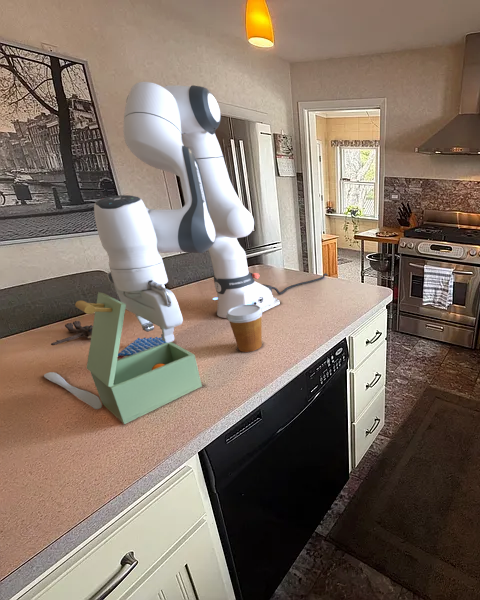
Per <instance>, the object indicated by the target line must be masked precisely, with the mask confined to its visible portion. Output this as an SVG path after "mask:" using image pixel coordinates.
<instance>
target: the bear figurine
mask: <svg viewBox="0 0 480 600" xmlns="http://www.w3.org/2000/svg"><path fill="white" fill-rule="evenodd" d="M64 327H65V328H66V329H67V331H68V333H69V332H70V333H75V334H73V335H70V336H68V337H65V338H62V339H56V340H55V341H53V342H51V343H50V345H51V346H56V345H60V344H63V343H67V342H70V341H72V340H75V339H79V338H81V337H86V339H91V336H92V329H93V324H90V325H84V326H82V325H81V321H80V320H75V321H73V322H68V323H65V325H64Z"/></svg>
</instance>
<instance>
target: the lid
mask: <svg viewBox="0 0 480 600" xmlns="http://www.w3.org/2000/svg"><path fill="white" fill-rule="evenodd" d="M74 306H75V307H76V308H77V309H79V310H80V311H81V312H83V313H85V314H87V315H92V314H94V315H93V316H94V318H93V323H92V326H93V329H92V336H91V338H90V343H89V349H88V355H87V364H86V369H87V370H88V371H89V372H90V374H91V373H93V374H94V375H95V376H96V377H97V378H98V379H100V380H101V381H102V382H103V383H104V384H105V385H106V386H108V387H111V386H113V383H114V377H115V370H116V364H117V360H118V359H117V358H118V357H119V356H118V353H120V345H121V338H122V332H123V326H124V319H125V314H126V309H125V308H126V304H124V303H122V302H121V301H120V300H118V299H116V298H115V297H112V296H110V295H108V294H107V293H104V292H97V297H96V303H95V302H87V301H85V300H81V299H80V300H77V301H76V302H75V304H74Z"/></svg>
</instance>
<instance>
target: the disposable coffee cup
mask: <svg viewBox="0 0 480 600" xmlns="http://www.w3.org/2000/svg"><path fill="white" fill-rule="evenodd" d="M263 313H264V312H263V311H262V310H261V308H260V306H258V305H254V304H245V305H239V306H236V307H233V308H231V309H229V310H228V312H227V316H226V318H225V319H227V321H228V322H229V325H230V328H231V331H232V334H233V336H234V339H235V342H236V345H237V348H238V350H239V352H243V353H250V352H254V351H256V350H259V349H260V348H262V345H263V342H262V340H263V337H262V336H263V334H262V332H263V329H262V327H263V326H262V316H263Z"/></svg>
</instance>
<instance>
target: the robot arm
mask: <svg viewBox="0 0 480 600" xmlns="http://www.w3.org/2000/svg"><path fill="white" fill-rule="evenodd" d="M125 102H126V103H125V107H124V114H123V127H122V128H123V130H122V131H123V138H124V143H125V145H126V147H127V148H128V150H129V151H130V153H132V154H133V155H134V156H135V157H136V158H137V159H138V160H140V161H141V162H143V163H145V164H146V165H148V166H150V167H153V168H155V169H158V170H161V171H164V172H167V173H170V174H173V175H175V176H177V177H179V180H180V186H181V191H182V195H183V200H184V204H183V206H182V207H180V208H177V209H174V208H173V209H172V208H171V209H155V208H154V209H153V208H151V209H150V208H149V207H146V204H145V203H144V201H143V199H142V198H141V197H138V196H136V195H129V194H123V195H121V194H120V195H113V196H105V197H103V198H100V199H99V200H96V201H95V202H94V205H93V213H94V220H95V226H96V230H97V234H98V237H99V241H100V243H101V246H102V248H103V250H105V252H106V254H107V256H108V267H109V270H110V271H108V272H107V274H106V276H107V278H108V281H109V283H111V284H113V286H114V289H115V292H116V294H117V296H118V298H119V301H120V302H122V303H124V304H126V308H125V311H128V312H130V313H132V314H134V315H135V317H136V319H137V320H138V322H139V324H140V325H141V328H142V331H145V332H147V333H148V332H151V331H154V330H155V326H157V327H159V329H160V330H161V334H160V338H161V337H162V340H163V341H164V342H166V343H169V342H172V341H173V342H174V341H175V335H174V331H175V327H178V326H181V325H182V324H183V322H184V318H183V314H182V311H181V308H180V306H179V305H180V304H179V302H178V300H177V297H176V296H175V294H174V293H173V291H172V290H170V289H168V288H166V286H165V285H166V284H167V283H168V282H169V279H168V278H169V277H168V275H167V271H166V267H165V264H164V260H163V258H162V256H161V254H166V253H187V254H188V253H189V254H203V253H205V252H207V251H208V253H209V256H210V260H211V266H212V269H213V274H214V276H213V282H214V288H215V291H216V295H217V297H213V298H212V300H214V301H216V300H217V309H216V315H217V317H220V318H222V319H223V318H224V319H227V318H226V316H227V312H228V310H229V309H231V308H233V307H236V306H239V305H245V304H254V305H258V306H260V308H261V310H262V311H263V313H265V312H266V311H268V310H270V309H272V308H275V307H276V306H279V305H280V304H281V301H280V300H279V299H278V298H277V297H274V295H273V290H275V292H276V293H277V294H278V295H282V294H284V293H285V292H286V291H287V290H289V289H291V288H295V287H298V286H301V285H307V284H310V283H313V282H317V281H320V280H323V279H324V278H325V277H326V276H327V277H328V276H329V274H328V273H327V272H325V273H323V275H322V276H323V277H322V276H321V277H318V278H314V279H311V280H307V281H301V282H299V283H295V284H292V285H289V286H286V287H285V288H284V289H283V290H282V291H279V289H278V288H277V287H275V286H272V285H269V284H266V283H265V284H264V283H260V282H257V281H255V279H256V280H259V278H260V277H261V276H260V273H257V272H250V271H249V267H248V260H247V259H248V258H247V253H246V251H245V250H244V248H243V247H242V246H241V244H240V242H239V241H238V239H239V238H245V237H247V236H249V235H250V234H251V233H252V232H253V230H254V228H255V219H254V216H253V214H252V213H251V212H250V211H249V210H248V208H246V207H245V205H244V204H243V203H242V201H241V199H240V197H239V196H238V194H237V192H236V190H235V188H234V186H233V183H232V181H231V179H230V175H229V172H228V169H227V166H226V162H225V157H224V155H223V152H222V148H221V145H220V143H219V140H218V138H217V136H216V130H217V129H218V128H219V126H220V124H221V120H222V113H221V109H220V106H219V103H218V100H217V99H216V97H215V94H213V92H211V90H209V89H208V88H207V87H205V86H199V85H193V84H191V85H190V86H189V85H165V86H162V85H160V84H157V83H155V82H152V81H139V82H136V83H135V84H134V85H132V87H131V88H130V90H129V93H128V95H127V97H126V100H125ZM160 253H161V254H160ZM154 325H155V326H154ZM173 342H172V343H173Z"/></svg>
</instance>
